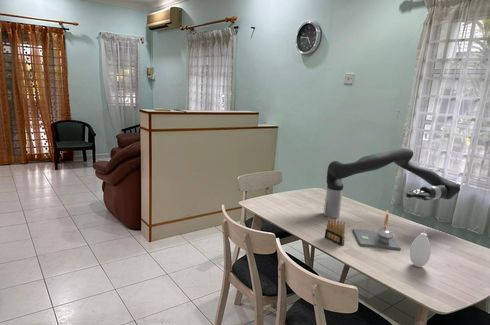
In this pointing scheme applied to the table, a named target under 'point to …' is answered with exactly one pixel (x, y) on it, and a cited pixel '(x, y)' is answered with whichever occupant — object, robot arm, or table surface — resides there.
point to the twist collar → (385, 229)
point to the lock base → (374, 240)
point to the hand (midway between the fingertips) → (407, 195)
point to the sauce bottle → (420, 250)
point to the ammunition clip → (335, 232)
